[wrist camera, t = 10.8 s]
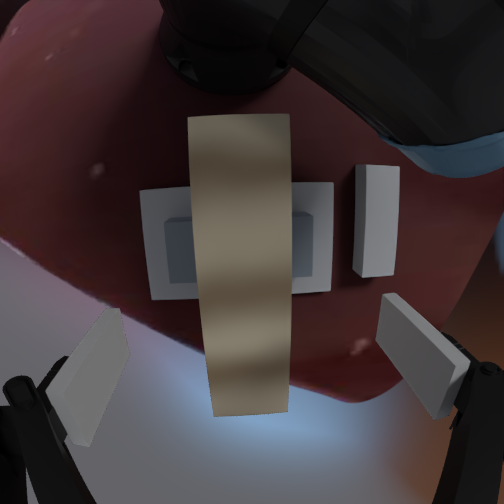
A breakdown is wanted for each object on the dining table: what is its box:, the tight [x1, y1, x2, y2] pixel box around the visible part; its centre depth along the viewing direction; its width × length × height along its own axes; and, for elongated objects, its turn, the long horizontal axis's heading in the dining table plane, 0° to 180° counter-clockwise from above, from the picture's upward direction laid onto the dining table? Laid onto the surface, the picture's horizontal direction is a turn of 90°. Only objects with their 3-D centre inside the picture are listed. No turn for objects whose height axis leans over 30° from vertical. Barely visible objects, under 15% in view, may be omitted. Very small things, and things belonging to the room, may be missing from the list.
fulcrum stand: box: [140, 182, 334, 300], centre depth 30 cm, size 12×20×8 cm, turn 92°
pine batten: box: [188, 114, 292, 417], centre depth 23 cm, size 22×6×6 cm, turn 2°
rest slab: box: [352, 165, 399, 278], centre depth 33 cm, size 12×4×3 cm, turn 2°
